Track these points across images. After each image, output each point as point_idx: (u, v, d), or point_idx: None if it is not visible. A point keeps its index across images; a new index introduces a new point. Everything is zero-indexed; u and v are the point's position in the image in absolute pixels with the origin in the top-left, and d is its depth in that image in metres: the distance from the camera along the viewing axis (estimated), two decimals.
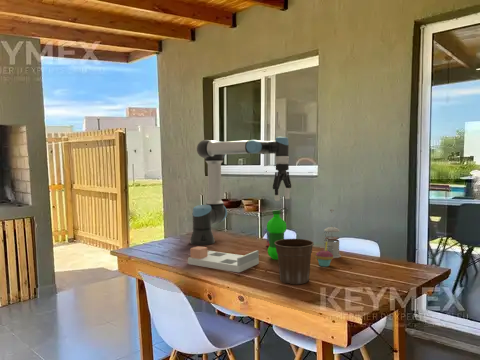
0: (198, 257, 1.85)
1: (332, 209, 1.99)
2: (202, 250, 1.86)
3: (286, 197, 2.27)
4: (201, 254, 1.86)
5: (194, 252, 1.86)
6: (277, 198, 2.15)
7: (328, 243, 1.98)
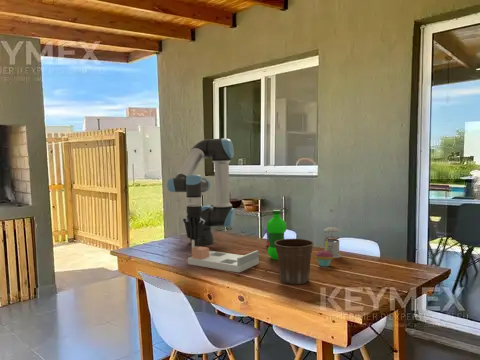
0: (200, 257, 1.85)
1: (332, 209, 1.99)
2: (204, 250, 1.86)
3: None
4: (203, 254, 1.85)
5: (196, 252, 1.86)
6: None
7: (328, 243, 1.98)
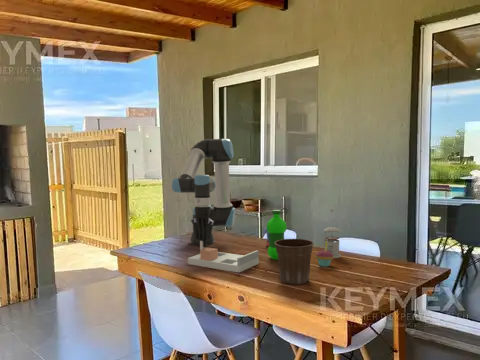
0: (208, 259, 1.82)
1: (332, 209, 1.99)
2: (212, 252, 1.83)
3: None
4: (211, 256, 1.82)
5: (204, 254, 1.83)
6: None
7: (328, 243, 1.98)
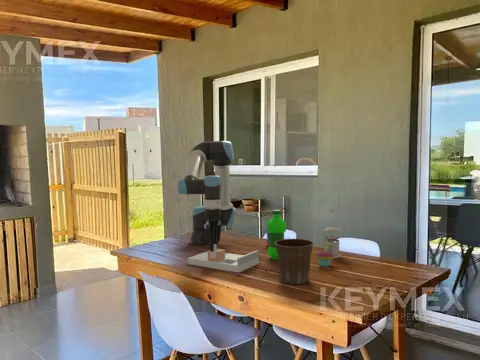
0: (216, 260, 1.80)
1: (332, 209, 1.99)
2: (220, 252, 1.81)
3: None
4: (219, 257, 1.80)
5: None
6: (213, 255, 1.79)
7: (328, 243, 1.98)
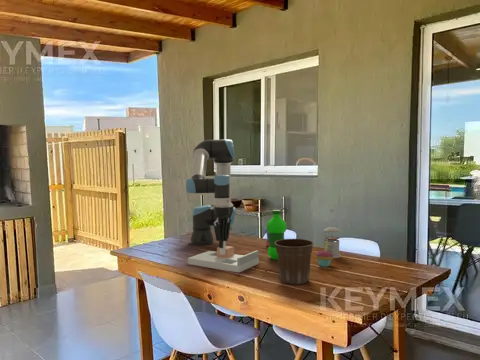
0: (225, 256, 1.86)
1: (332, 209, 1.99)
2: (229, 249, 1.87)
3: None
4: (228, 253, 1.87)
5: None
6: (222, 251, 1.85)
7: (328, 243, 1.98)
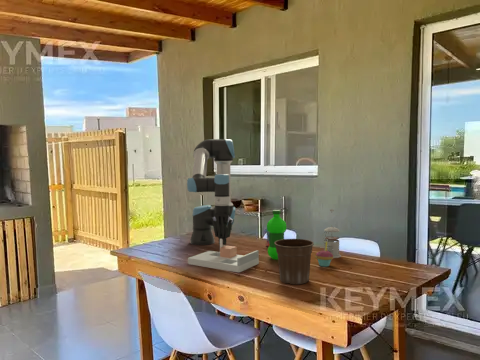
0: (228, 256, 1.86)
1: (332, 209, 1.99)
2: (232, 249, 1.87)
3: None
4: (231, 253, 1.86)
5: (224, 251, 1.87)
6: None
7: (328, 243, 1.98)
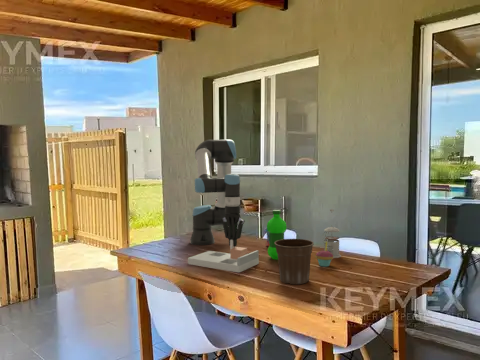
0: None
1: (332, 209, 1.99)
2: (242, 251, 1.84)
3: None
4: (242, 255, 1.83)
5: (234, 253, 1.84)
6: None
7: (328, 243, 1.98)
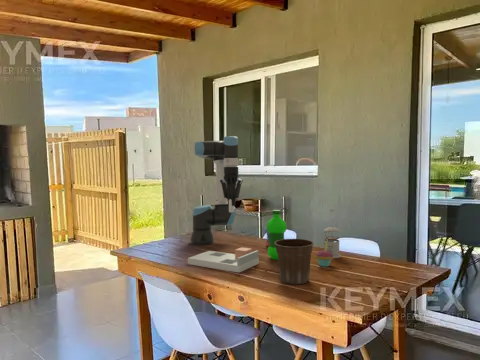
0: None
1: (332, 209, 1.99)
2: (247, 251, 1.82)
3: None
4: None
5: (239, 254, 1.83)
6: None
7: (328, 243, 1.98)
